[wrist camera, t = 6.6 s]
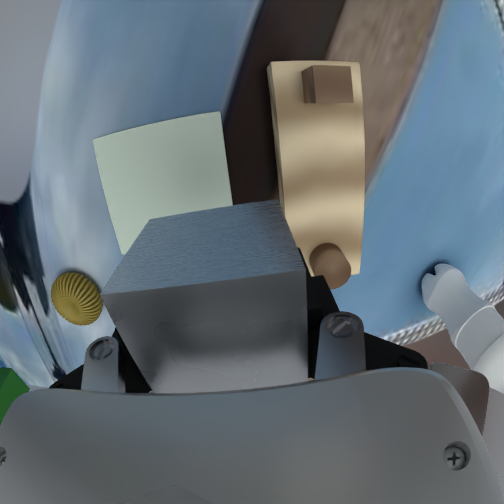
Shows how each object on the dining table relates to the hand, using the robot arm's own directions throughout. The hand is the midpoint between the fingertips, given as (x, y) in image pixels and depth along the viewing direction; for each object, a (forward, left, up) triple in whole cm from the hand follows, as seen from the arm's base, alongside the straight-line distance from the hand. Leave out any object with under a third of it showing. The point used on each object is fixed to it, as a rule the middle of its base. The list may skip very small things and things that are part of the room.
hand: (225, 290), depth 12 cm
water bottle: (+17, +28, -20) cm, 38 cm away
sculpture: (+12, -23, -20) cm, 33 cm away
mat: (0, -7, -20) cm, 21 cm away
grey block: (0, 0, 0) cm, 0 cm away
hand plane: (0, +9, -20) cm, 21 cm away
